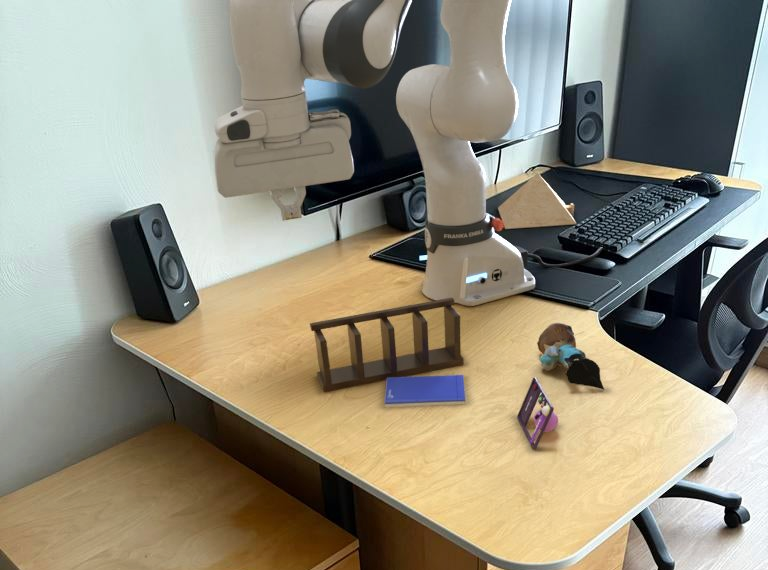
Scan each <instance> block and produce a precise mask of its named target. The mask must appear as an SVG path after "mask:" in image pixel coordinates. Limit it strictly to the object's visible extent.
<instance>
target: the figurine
mask: <svg viewBox="0 0 768 570" xmlns="http://www.w3.org/2000/svg"><path fill="white" fill-rule="evenodd" d="M576 341H577V340H576V337H575V332H574V331H573V328H572V326H571V325H568V324H565V323H562V322H554V323H551V324H550V325H548V326H547V327H546V328H545V329H544V330H542V332H541V333H540V334H539V337H538V341H537V342H536V344H537V349H538V350H539V352H540V353H541V354H542V355H541V356H540V357H539V362H540V367H541V368H542V369H543V370H544V371H546V372H550V371H553V370H554V369H556V368H557V366H563V367H564V368H566V372H565V376H566V378H567V383H569V384H573V385H576V386H577V385H578V386H587V387H592V388H596V389H601V390H603V391H605V388H604V385H603V383H602V380H601V367H600V366H599V364H597V362H595V361H594V360H592V359H590V358H588V357H586V353H585V352H584V351H582V350H581V349H579V348H577V343H576Z"/></svg>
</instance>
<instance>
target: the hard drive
mask: <svg viewBox="0 0 768 570" xmlns="http://www.w3.org/2000/svg"><path fill="white" fill-rule="evenodd" d="M452 405H466V393H465V379H464V374H453V375H452V374H451V375H450V374H448V375H447V374H446V375H420V376H403V377H390V378H387V380H386V383H385V396H384V408H407V407H428V406H431V407H432V406H452Z"/></svg>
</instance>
